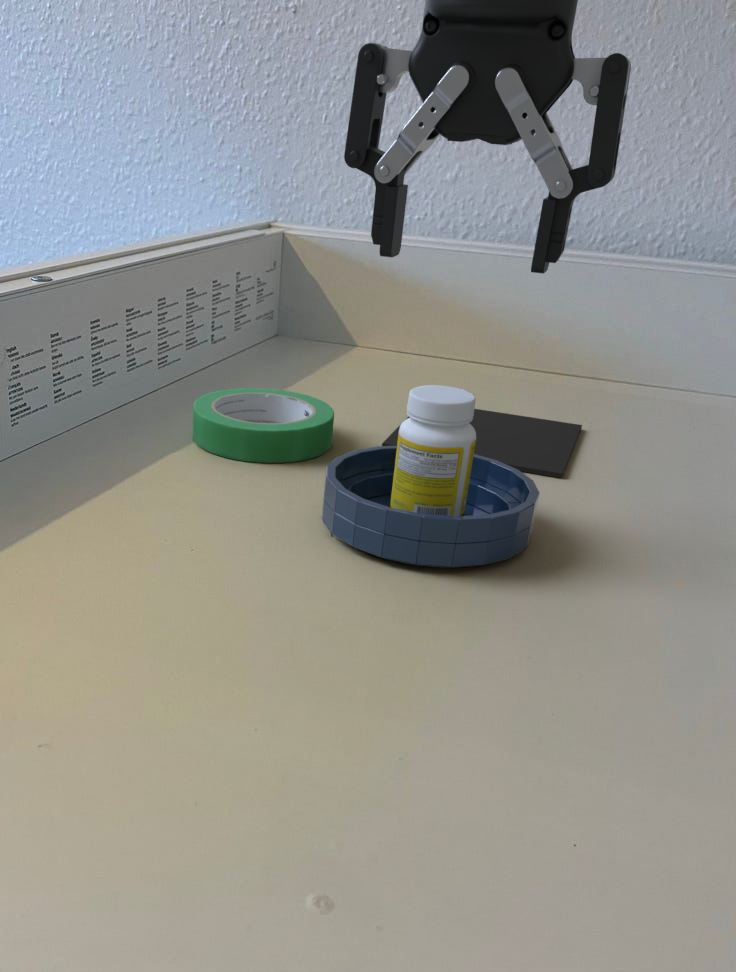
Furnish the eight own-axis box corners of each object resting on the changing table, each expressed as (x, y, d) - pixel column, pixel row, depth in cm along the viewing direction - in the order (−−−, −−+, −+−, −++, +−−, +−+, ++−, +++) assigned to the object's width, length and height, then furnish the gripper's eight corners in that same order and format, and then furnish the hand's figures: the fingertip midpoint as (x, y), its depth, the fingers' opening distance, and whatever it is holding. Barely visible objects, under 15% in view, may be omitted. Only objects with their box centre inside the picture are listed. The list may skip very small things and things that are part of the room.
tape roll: (322, 469, 73) (325, 434, 72) (177, 454, 74) (177, 419, 73) (338, 426, 82) (341, 395, 81) (209, 413, 84) (210, 382, 83)
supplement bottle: (422, 504, 66) (440, 379, 62) (477, 527, 63) (499, 397, 59) (372, 519, 64) (387, 389, 60) (427, 544, 61) (447, 408, 56)
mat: (581, 429, 85) (582, 424, 85) (561, 478, 74) (563, 473, 74) (422, 405, 90) (423, 400, 89) (381, 448, 78) (382, 443, 78)
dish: (541, 515, 67) (551, 465, 65) (509, 592, 56) (520, 535, 55) (355, 481, 71) (360, 434, 69) (293, 547, 60) (297, 493, 59)
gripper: (670, -78, 49) (598, 269, 57) (391, -79, 53) (360, 243, 61) (665, -105, 43) (585, 287, 51) (350, -104, 47) (321, 258, 55)
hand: (462, 263), depth 56 cm, fingers open, 8 cm apart
